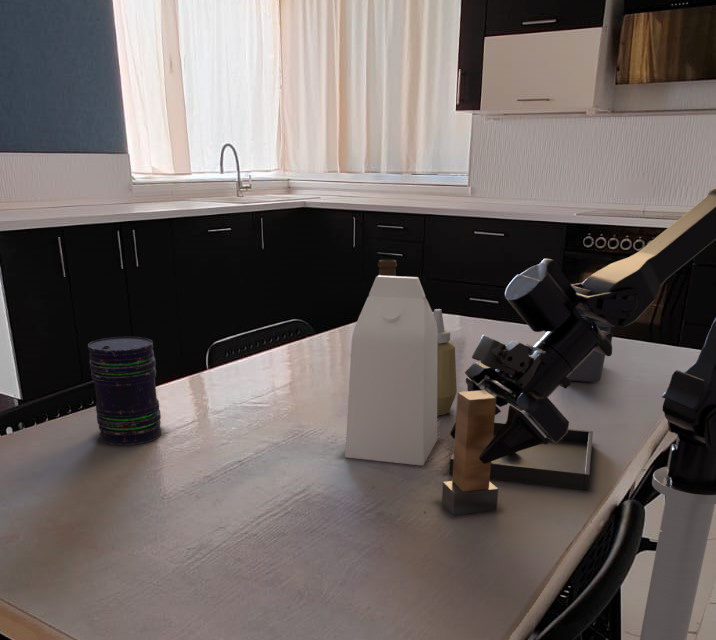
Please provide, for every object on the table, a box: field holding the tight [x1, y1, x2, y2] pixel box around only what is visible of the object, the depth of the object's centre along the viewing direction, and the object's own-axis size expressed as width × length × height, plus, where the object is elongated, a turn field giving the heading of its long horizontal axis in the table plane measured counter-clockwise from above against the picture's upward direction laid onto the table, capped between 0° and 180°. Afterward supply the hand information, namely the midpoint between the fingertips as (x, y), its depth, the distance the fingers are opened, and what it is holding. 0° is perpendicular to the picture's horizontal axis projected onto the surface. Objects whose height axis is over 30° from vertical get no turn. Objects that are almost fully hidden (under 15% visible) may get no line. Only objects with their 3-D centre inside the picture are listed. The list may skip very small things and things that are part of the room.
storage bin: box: [567, 307, 615, 383], centre depth 161 cm, size 21×16×14 cm
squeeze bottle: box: [433, 308, 458, 416], centre depth 134 cm, size 8×8×18 cm
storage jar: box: [87, 336, 163, 446], centre depth 122 cm, size 10×10×15 cm
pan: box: [448, 421, 594, 491], centre depth 116 cm, size 19×19×2 cm
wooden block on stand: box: [441, 390, 499, 516], centre depth 97 cm, size 6×4×15 cm, turn 106°
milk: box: [344, 274, 438, 466], centre depth 115 cm, size 12×12×26 cm
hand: (466, 448), depth 97 cm, fingers open, 9 cm apart
